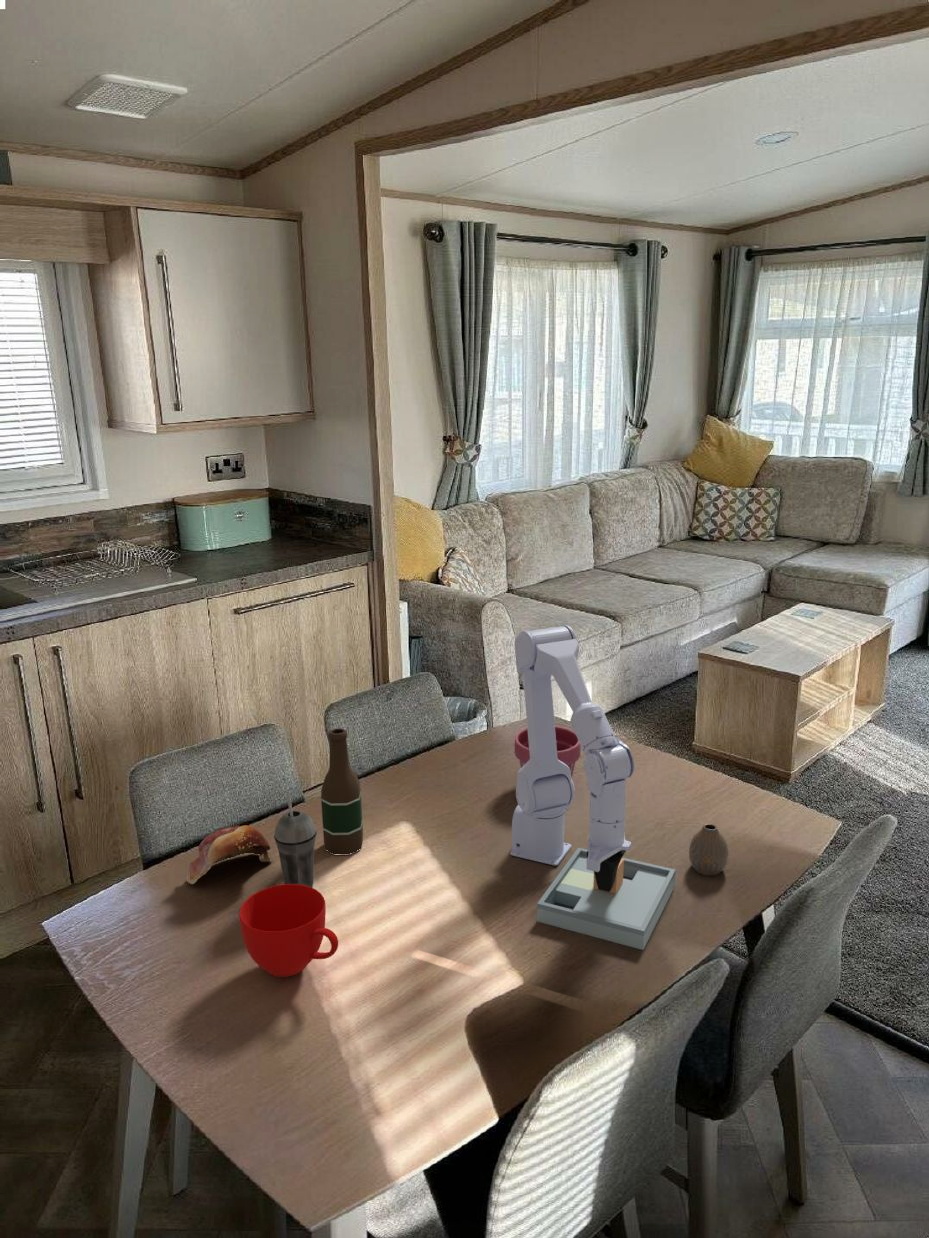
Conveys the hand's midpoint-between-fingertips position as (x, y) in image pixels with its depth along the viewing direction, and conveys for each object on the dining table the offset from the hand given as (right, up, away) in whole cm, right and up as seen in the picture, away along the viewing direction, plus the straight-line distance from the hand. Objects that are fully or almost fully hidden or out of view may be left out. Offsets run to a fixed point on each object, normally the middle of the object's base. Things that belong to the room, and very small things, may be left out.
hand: (605, 888), depth 152 cm
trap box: (+1, -3, +3) cm, 5 cm away
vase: (+21, -1, +13) cm, 24 cm away
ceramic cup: (-50, -9, -12) cm, 52 cm away
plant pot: (-6, +8, +44) cm, 45 cm away
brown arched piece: (-66, -2, +14) cm, 68 cm away
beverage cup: (-53, -3, +7) cm, 53 cm away
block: (+1, -1, +4) cm, 4 cm away
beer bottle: (-47, +1, +23) cm, 52 cm away
